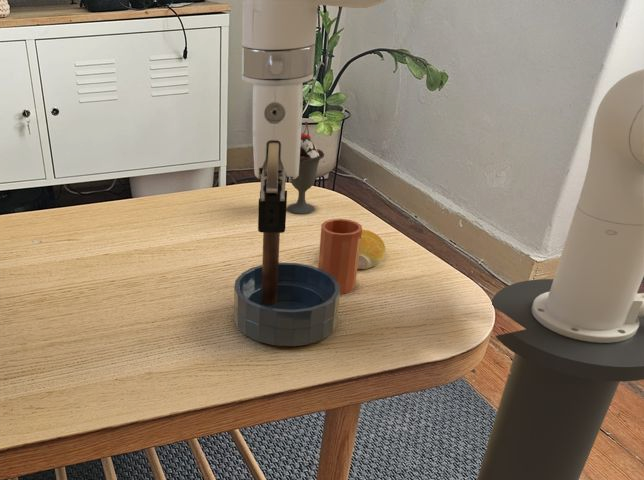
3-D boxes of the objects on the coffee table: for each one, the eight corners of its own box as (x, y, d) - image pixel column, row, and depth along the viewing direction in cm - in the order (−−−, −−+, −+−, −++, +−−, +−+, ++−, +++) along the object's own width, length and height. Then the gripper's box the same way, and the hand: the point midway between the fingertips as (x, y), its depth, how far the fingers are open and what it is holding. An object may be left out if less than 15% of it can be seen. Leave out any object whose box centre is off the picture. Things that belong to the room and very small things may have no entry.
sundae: (305, 199, 121) (311, 117, 113) (326, 211, 116) (334, 126, 108) (275, 206, 119) (278, 123, 111) (295, 218, 114) (300, 132, 105)
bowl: (333, 299, 89) (337, 264, 86) (338, 352, 79) (342, 314, 76) (238, 296, 91) (238, 261, 88) (230, 347, 81) (230, 309, 78)
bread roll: (386, 248, 102) (390, 225, 100) (379, 273, 95) (382, 248, 93) (333, 242, 105) (336, 219, 103) (323, 266, 98) (325, 241, 96)
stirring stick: (277, 298, 85) (282, 179, 76) (276, 306, 83) (281, 185, 74) (261, 297, 85) (265, 179, 76) (260, 305, 83) (264, 185, 74)
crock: (353, 276, 95) (360, 219, 90) (356, 294, 90) (363, 235, 85) (316, 275, 96) (320, 218, 91) (316, 293, 91) (321, 234, 86)
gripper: (315, 78, 61) (303, 256, 71) (313, 49, 74) (303, 203, 84) (235, 80, 62) (235, 254, 72) (247, 51, 75) (245, 202, 85)
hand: (272, 226), depth 78 cm, fingers closed on stirring stick, 2 cm apart
